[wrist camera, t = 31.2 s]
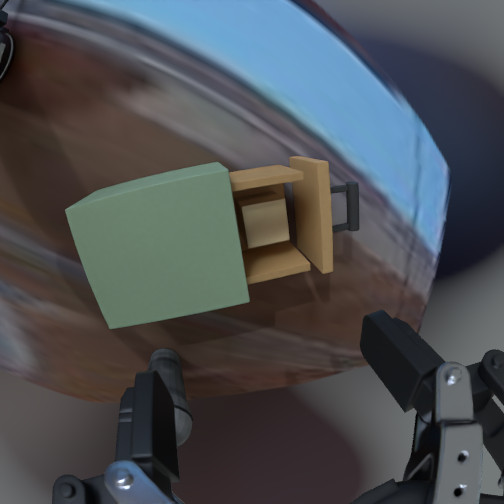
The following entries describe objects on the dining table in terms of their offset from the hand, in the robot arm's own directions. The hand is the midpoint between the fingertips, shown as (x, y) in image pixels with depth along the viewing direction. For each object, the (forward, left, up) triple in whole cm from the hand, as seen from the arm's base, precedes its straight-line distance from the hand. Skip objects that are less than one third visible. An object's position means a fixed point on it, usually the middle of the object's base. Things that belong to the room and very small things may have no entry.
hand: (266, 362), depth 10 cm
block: (+1, +5, -23) cm, 24 cm away
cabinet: (+1, -6, -25) cm, 26 cm away
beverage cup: (+21, -12, -25) cm, 35 cm away
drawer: (+1, +6, -24) cm, 25 cm away
